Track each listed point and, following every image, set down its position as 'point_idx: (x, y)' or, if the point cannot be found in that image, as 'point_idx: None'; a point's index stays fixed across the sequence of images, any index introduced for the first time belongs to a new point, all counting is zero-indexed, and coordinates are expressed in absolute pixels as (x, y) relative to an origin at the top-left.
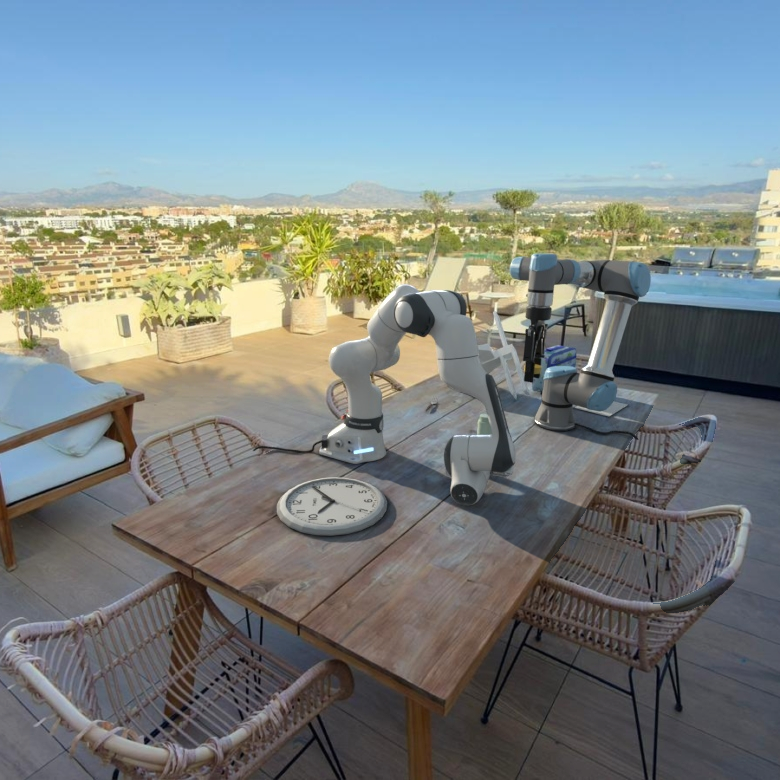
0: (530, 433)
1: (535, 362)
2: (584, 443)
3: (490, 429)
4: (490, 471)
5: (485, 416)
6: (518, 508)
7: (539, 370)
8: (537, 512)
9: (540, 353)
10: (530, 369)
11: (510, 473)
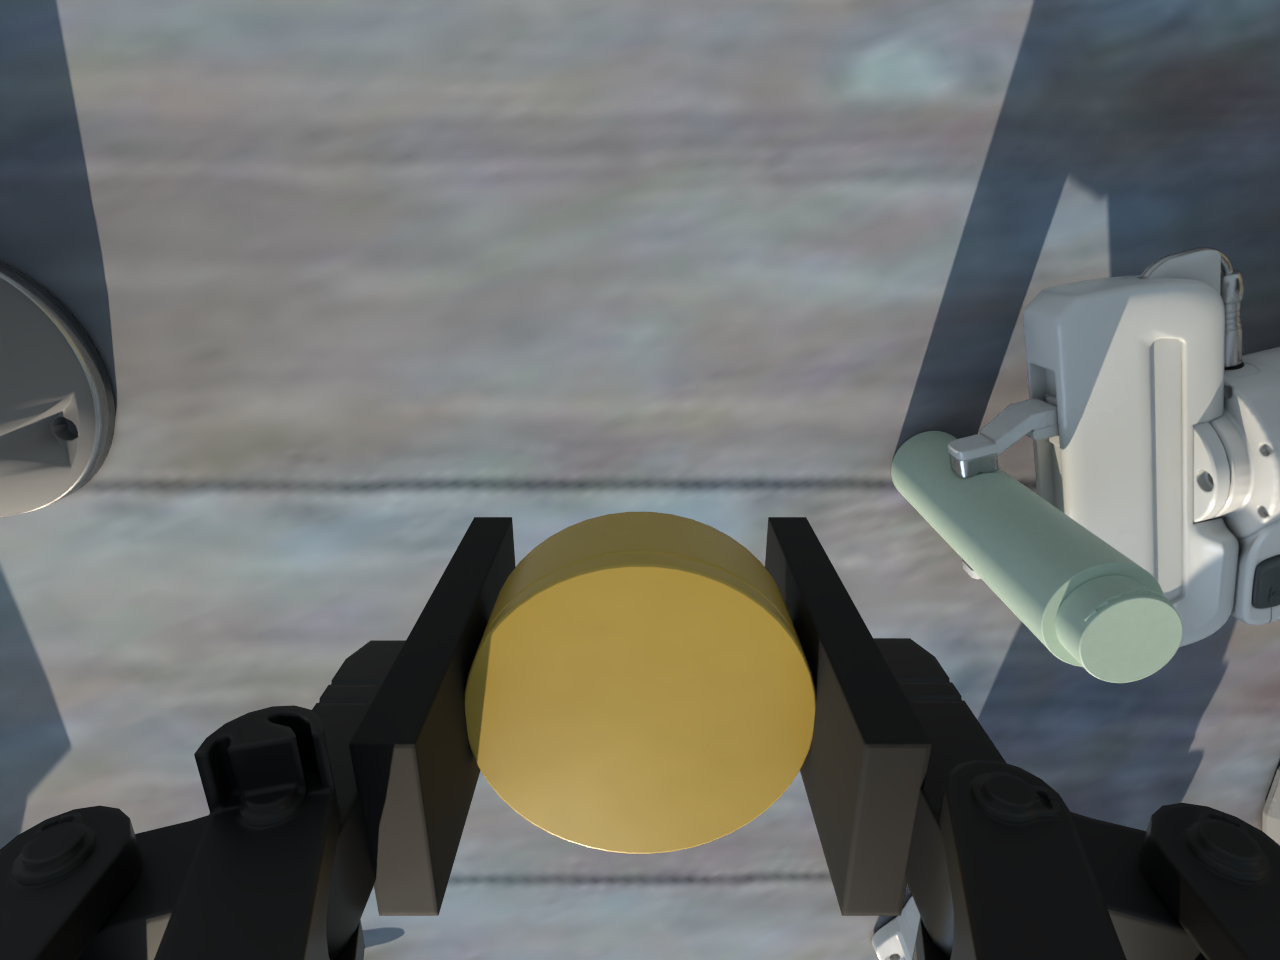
0: (253, 452)
1: (457, 761)
2: (134, 97)
3: (1100, 541)
4: (1248, 365)
5: (1156, 635)
6: (1250, 146)
7: (698, 547)
8: (1259, 35)
9: (324, 893)
10: (933, 677)
11: (1219, 255)
